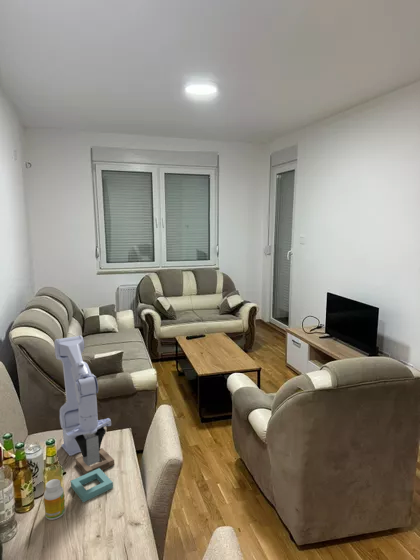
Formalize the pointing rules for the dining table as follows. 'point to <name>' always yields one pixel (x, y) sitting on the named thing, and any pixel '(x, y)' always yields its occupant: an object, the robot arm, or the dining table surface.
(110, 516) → the dining table surface
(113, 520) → the dining table surface
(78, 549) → the dining table surface
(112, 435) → the dining table surface
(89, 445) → the peg
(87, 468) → the socket block
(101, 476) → the teal square frame
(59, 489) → the supplement bottle
